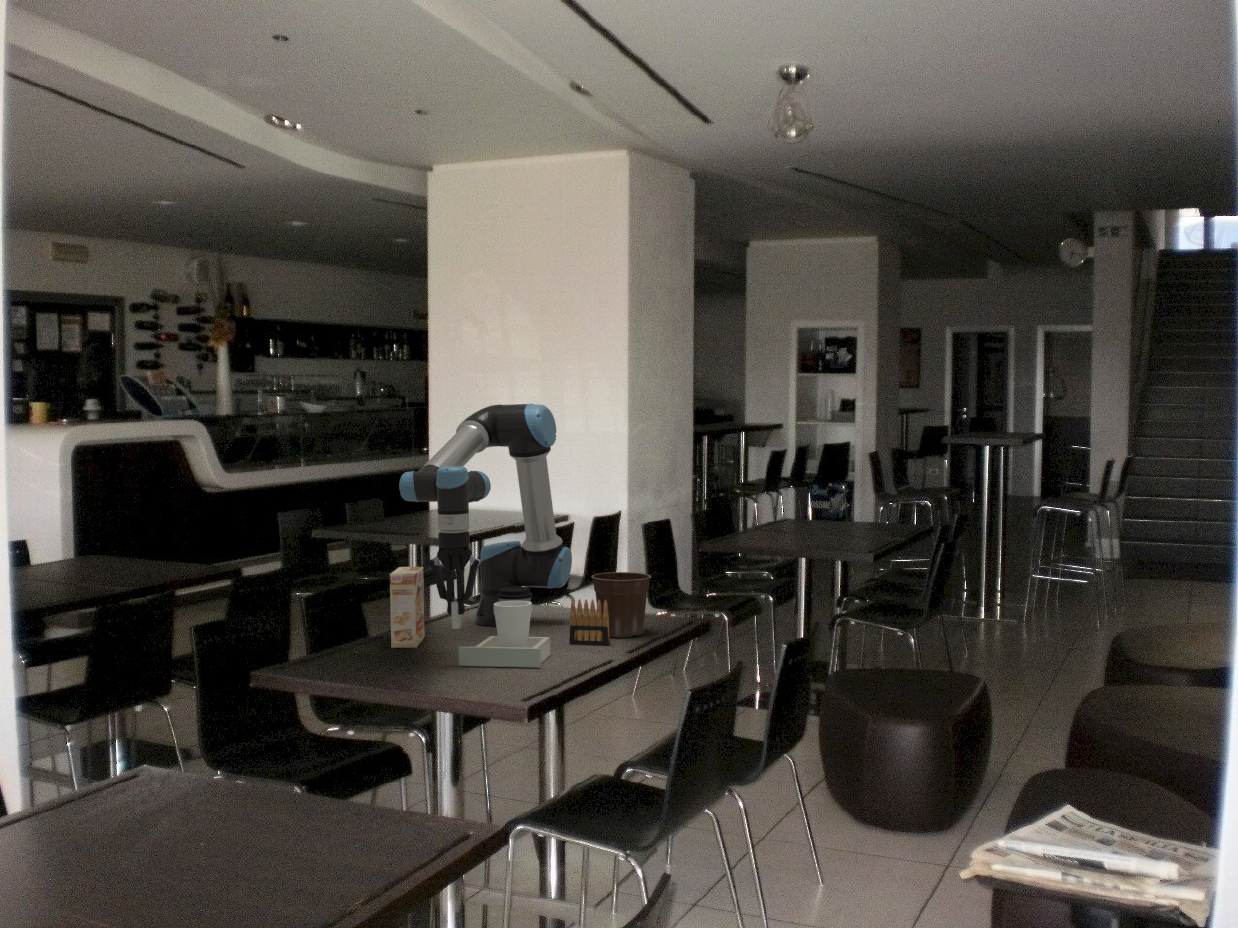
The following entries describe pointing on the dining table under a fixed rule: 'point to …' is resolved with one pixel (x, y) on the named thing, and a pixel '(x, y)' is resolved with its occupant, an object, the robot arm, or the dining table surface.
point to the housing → (532, 643)
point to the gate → (499, 656)
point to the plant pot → (623, 601)
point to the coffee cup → (514, 594)
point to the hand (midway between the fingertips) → (456, 627)
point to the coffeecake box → (407, 607)
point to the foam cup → (513, 623)
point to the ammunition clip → (589, 625)
